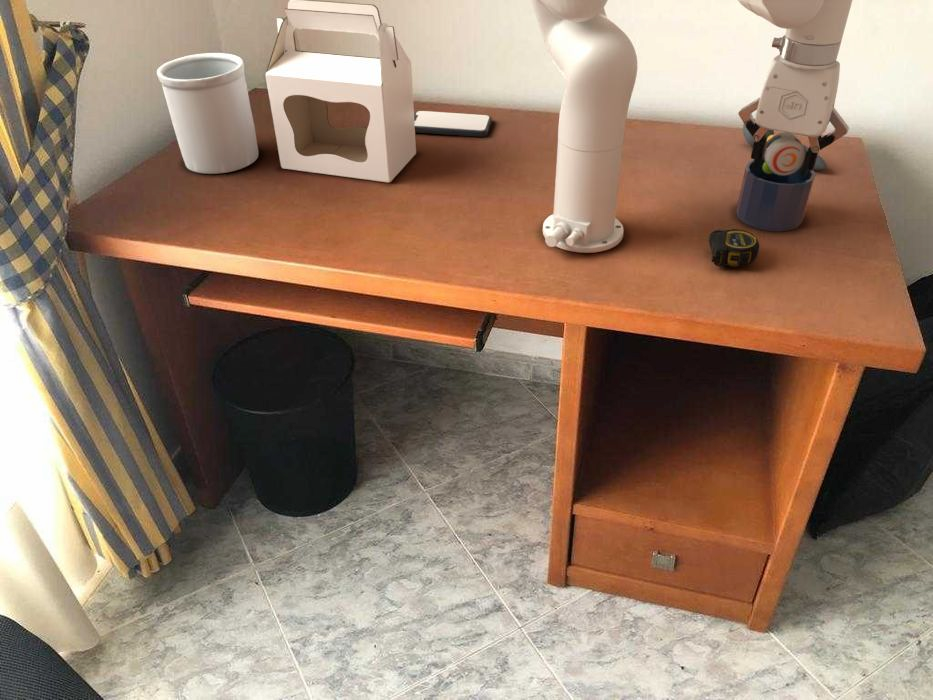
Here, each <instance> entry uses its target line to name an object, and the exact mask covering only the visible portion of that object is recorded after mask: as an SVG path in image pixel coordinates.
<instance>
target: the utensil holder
mask: <svg viewBox="0 0 933 700" xmlns="http://www.w3.org/2000/svg"><path fill="white" fill-rule="evenodd" d="M156 76H157V79H158V81H159V83H160V84H161V87H162V92H163V95H164V98H165V101H166V106H167V108H168V112H169V116H170V119H171V123H172V127H173V130H174V134H175V137H176V141H177V144H178V147H179V149H180V154H181V157H182V159H183V162H184V165H185V167H186V169H188V170H189V171H191V172H194V173H197V174H204V175H206V174H207V175H220V174H227V173H231V172H236V171H238V170H242V169H244V168H246V167H248V166H250V165H252V164H253V163H255V162H256V160H257V159H258V158H259V146H258V140H257V134H256V128H255V127H256V126H255V122H254V117H253V113H252V108H251V102H250V96H249V91H248V85H247V81H246V77H245V76H246V75H245V63H244V60H243V59H242V58H241V57H240V56H238V55H235V54H232V53H225V52H206V53H205V52H204V53H196V54H190V55H185V56H182V57H179V58H176V59H172V60H170V61H167V62H165V63H163V64H162V65H160V66H159V67H158V68H157V70H156Z"/></svg>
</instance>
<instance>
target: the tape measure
mask: <svg viewBox="0 0 933 700" xmlns="http://www.w3.org/2000/svg"><path fill="white" fill-rule="evenodd" d="M708 244H709V247H710V250H711V258H712V259H711V262H712V263H713V265H714V266H716V267H724V266H727V267H728V266H729V267H733V268H741V267H746V266H750V265H751V264H753V263H754V262H755V261H756V259H758V255H759V251H760V243H759V240H758V238H757V237H756V235H754V234H753V233H752V232H749V231H747V230H743V229H737V228H731V229H729V228H728V229H719V230H713V231H711V232H710V234H709V235H708Z"/></svg>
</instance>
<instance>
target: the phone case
mask: <svg viewBox="0 0 933 700" xmlns="http://www.w3.org/2000/svg"><path fill="white" fill-rule="evenodd" d="M492 118H493V117H492V116H491V115H488V114H477V113H476V114H475V113H461V112H445V111H431V110H417V111H414V123H415V134H417V133H418V134H432V135H444V136H445V135H447V136H459V137H475V138H484V137H487V136H488V135H489V134H488V133H489V132H490V128H491V125H492V120H493V119H492Z"/></svg>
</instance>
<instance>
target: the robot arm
mask: <svg viewBox="0 0 933 700" xmlns="http://www.w3.org/2000/svg"><path fill="white" fill-rule="evenodd" d="M530 1H531V4H532V7H533V10H534V13H535V16H536V20H537V22H538V26H539V29H540V32H541V35H542V39H543V41H544V44H545V47H546V50H547V53H548V55H549V57H550V59H551V60H552V61H551V62H552V63H553V64H554V65H555V67H556V68H557V70H558V71H559V72H560V74H561V75H562V76H563V78H564V84H565V85H564V93H563V97H562V101H561V105H560V111H559V116H558V118H559V120H558V127H557V147H556V150H557V151H556V165H555V182H554V197H553V198H554V199H553V212H552V214H551V215H549V216H547V218H546V219H545V220H544V221H543V223H542V235H543V237H544V242H545V244H546V245H547V247H550V248H554V247H556V248H559V249H561V250H563V251H568V252H572V253H578V254H592V253H593V254H594V253H599V252H600V253H601V252H604V251H607V250H610V249H612V248H613V249H614V248H615V247H616V246H617V245H619V244H620V243H621V242H622V240H623V238H624V231H625V229H624V225H623V224H622V222H621V221H620V220H619V219H618V218H616V213H617V204H618V195H619V186H620V178H621V171H622V170H621V169H622V160H623V159H622V158H623V153H624V141H625V132H626V126H627V118H628V112H629V107H630V102H631V98H632V96H633V91H634V88H635V84H636V80H637V75H638V57H637V52H636V49H635V47H634V45H633V42H632V41H631V39H630V37H628V35H627V34H626V33H625V32H624V31H623V30H622V29H621V28H620V27H619V26H618V25H617V24H615V22H613V21H611V20H610V19H609V18H608V16H607V13H606V10H605V7H606V5H607V3H608V0H530ZM737 1H738V3H739V4H740V5H741V6H742V7H744V9H746V10H748V11H750V12H751V13H753V14H755V15H756V16H758V17H761V18H762V19H764V20H765V21H768V23H770V24H772V25H773V26H775V27H778V28H780V29H785V34H784V35H783V36H782V37H781V36H780V37H774V38H773V39H772V42H771V47H772V48H776V49H777V50H778V52H779V54H777V55H776V56H775V57H773V59H772V61H771V64H770V66H769V68H768V71H767V75H766V77H765V80H764V83H763V86H762V90H761V93H760V97H758V98H757V99H755V100H753V101H752V102H750V103H748V104H747V105H745V106H744V107H742V108H741V109H740V110H739V111H738V116H739V118H740V120H741V121H742V122H743V123H745V125H746V128H747V130H748V131H749V133H750V134H751V135H752V137H753V141H754V145H753V147H752V150H751V153H750V159H751V160H754V162H753V167H758V165H759V164H760V162H761V161H762V158H763V156H762V152H763V148H764V145H765V144H766V141H767V138H766V134H765V133H766V132H767V131H768V129H769V130H774V132H780V133H791V134H793V135H798V136H803V137H807V138H808V142H809V143H808V144H809V147H808V148H809V149H808V151H807V152H806V156H805V160H804V163H803V167H802V171H801V175H802V177H805V176H806V174H807V173H808V171H809V170H811V171H814V170H813V169H814V166H815V162H816V159H817V155H819V152H820V151H821V150H823V149H824V148H826V147H828V146H830V145H832V144H833V143H834V142H836V141H837V140H840V138H842V137H844V136H846V135H847V134H848V132H849V130H850V127H849V126H848V124H847V123H846V121H845V120H844V119H843V117H842V116H841V115H840V113H839V112H838V111H837V109H836V107H835V105H836V104H835V103H836V98H837V94H838V87H839V82H840V73H841V72H840V71H841V63H840V61H838V60H837V59H838V55H839V51H840V48H841V44H842V41H843V37H844V34H845V29H846V25H847V22H848V18H849V14H850V10H851V8H852V3H853V0H737ZM754 112H756V113H755V118H754V116H753V113H754ZM829 124H831V126H833V128H834V130H832V131H831V132H828V133H826V134H825V135H824V136H823V134H824V133H825V132H826V130H827V128H828V125H829Z"/></svg>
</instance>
